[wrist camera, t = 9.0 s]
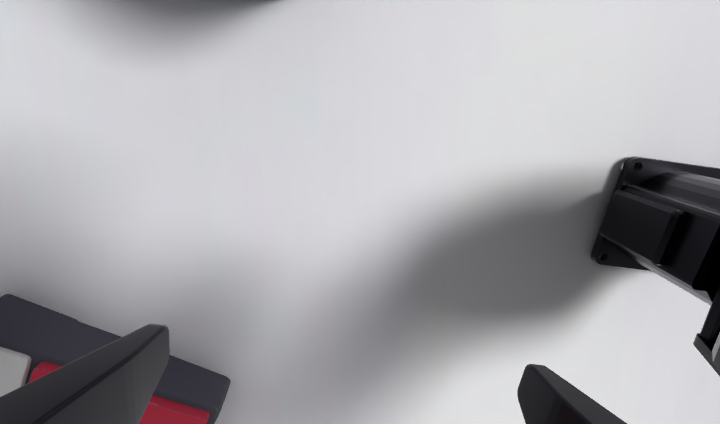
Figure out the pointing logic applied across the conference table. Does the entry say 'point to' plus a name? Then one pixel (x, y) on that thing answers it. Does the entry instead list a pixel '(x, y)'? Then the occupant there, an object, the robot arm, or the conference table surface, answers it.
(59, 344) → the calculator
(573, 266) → the conference table surface
